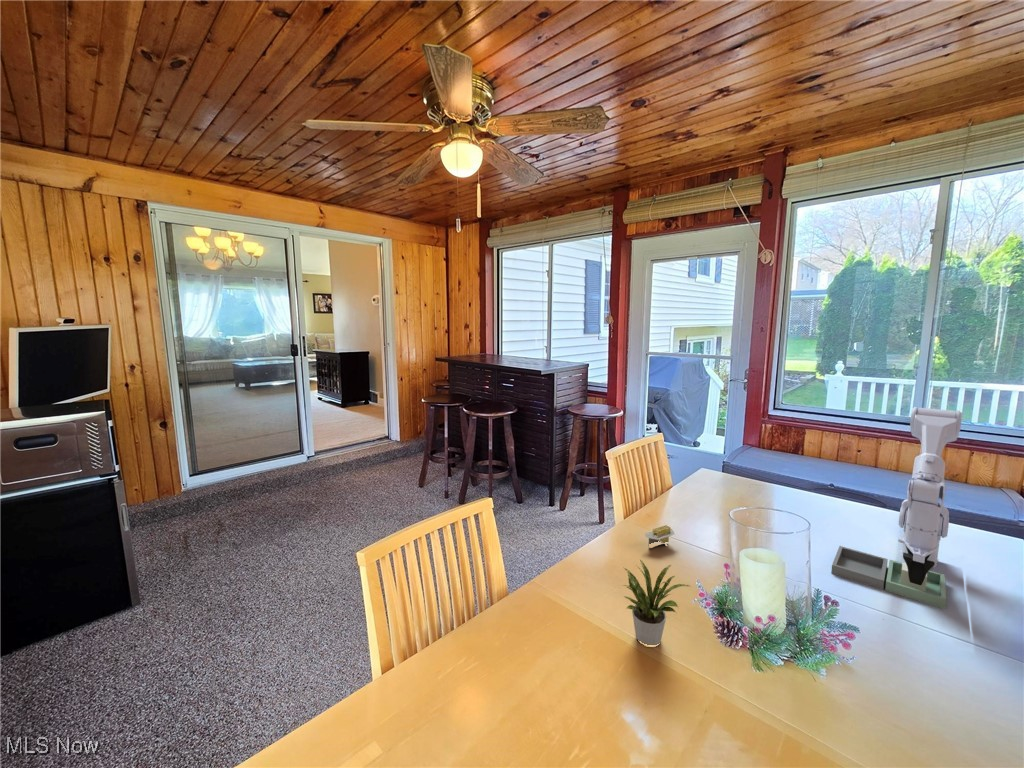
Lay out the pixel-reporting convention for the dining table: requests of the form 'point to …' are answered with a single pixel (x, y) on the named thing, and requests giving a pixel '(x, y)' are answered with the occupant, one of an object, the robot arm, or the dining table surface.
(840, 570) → the tray
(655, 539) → the platform
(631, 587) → the house plant
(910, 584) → the stone block
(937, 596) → the tray
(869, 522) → the dining table surface
